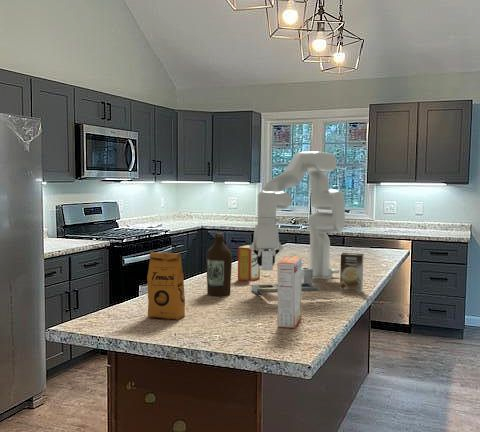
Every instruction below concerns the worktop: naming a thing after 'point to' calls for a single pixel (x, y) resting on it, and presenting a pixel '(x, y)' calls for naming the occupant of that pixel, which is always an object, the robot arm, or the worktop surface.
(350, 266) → the coffee box
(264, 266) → the grey block with knob
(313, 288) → the tray with square compartments
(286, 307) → the cracker box
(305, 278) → the block with ball knob
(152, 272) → the coffee package
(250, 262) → the baking soda box
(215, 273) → the olive oil
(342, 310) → the worktop surface
